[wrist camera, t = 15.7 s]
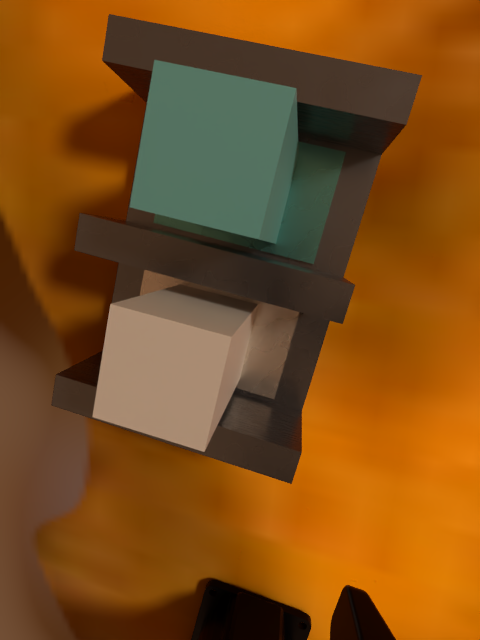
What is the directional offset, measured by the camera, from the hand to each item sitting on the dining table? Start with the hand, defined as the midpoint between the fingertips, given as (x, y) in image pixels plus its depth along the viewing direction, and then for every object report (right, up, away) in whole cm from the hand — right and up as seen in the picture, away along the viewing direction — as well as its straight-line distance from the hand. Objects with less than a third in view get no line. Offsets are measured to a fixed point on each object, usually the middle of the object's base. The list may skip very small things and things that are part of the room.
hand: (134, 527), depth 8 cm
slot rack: (+2, +7, +11) cm, 14 cm away
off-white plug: (+1, +4, +11) cm, 11 cm away
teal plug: (+2, +10, +9) cm, 14 cm away
